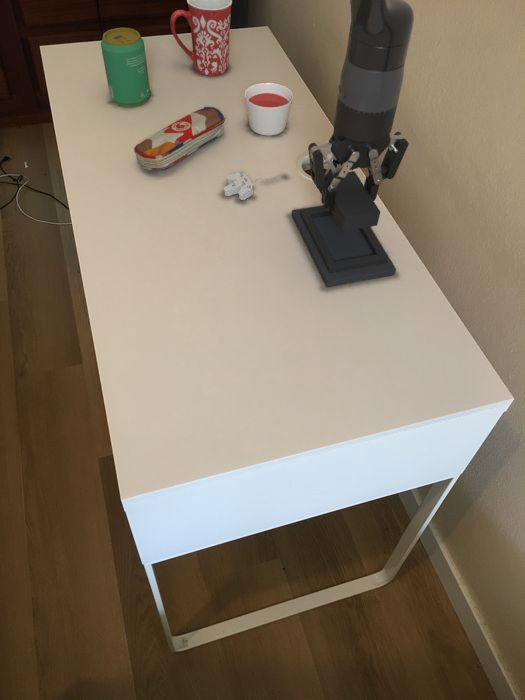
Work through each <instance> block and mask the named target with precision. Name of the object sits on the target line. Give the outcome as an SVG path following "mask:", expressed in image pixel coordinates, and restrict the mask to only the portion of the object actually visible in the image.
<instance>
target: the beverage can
mask: <svg viewBox="0 0 525 700" xmlns="http://www.w3.org/2000/svg"><path fill="white" fill-rule="evenodd" d="M100 49H101V54H102V59H103V65H104V70H105V75H106V81H107V86H108V92H109V96H110V98H111V99H112V100H113V102H114V103H115V104H116V105H117V106H119V107H123V108H136V107H140V106H142V105H144V104H146V103H147V102H148V101H149V97H150V96H151V87H150V78H149V72H148V71H149V70H148V63H147V56H146V55H147V54H146V47H145V41H144V39H143V38H142V37H141V34H140V32H139V31H138V30H136V29H134V28H131V27H115V28H111V29H108V30H107V31H105V32H104V33H103V34H102V39H101V42H100Z"/></svg>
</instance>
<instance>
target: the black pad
mask: <svg viewBox="0 0 525 700" xmlns="http://www.w3.org/2000/svg"><path fill="white" fill-rule="evenodd" d="M318 191H319V193H320V195H321V196H322V189H321V190H319V189H318ZM336 191H337V192H336V198H335V202H334V208H333V211H331V213H332V214H333V216H334V218H335V220H336V222H337V223H338V225H339V227H340V229H341V231H347V230H353V229H359V228H365V227H371V228H372V227H377V226H378V224H379V220H380V216H381V210H380V209H379V207H378V206H377V204H376V202H375V201H373V199H372V198H371V196H370V195H369V193H368V192H367V190H366V189H365V187H364V184H363V182H362V180H361V179H360V177H359V176H358V174H357V172H356V171H355V170H350V171H349V172H348V174H347V175H346V177H345V178H344V179H342V180H341V181H340V183H339V184H338V186H337V188H336Z"/></svg>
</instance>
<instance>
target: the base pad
mask: <svg viewBox="0 0 525 700" xmlns="http://www.w3.org/2000/svg"><path fill="white" fill-rule="evenodd" d="M291 218H292V220H293V222H294V224H295V226H296V228H297V230H298V232H299V234H300V237H301V238H302V240H303V243H304V244H305V246H306V248H307V251H308V252H309V254H310V257H311V259H312V260H313V261H312V262H313V263H314V265H315V267H316V269H317V271H318V273H319V275H320V277H321V279H322V282H323V283H324V285H325V287H326V288H330V287H336V286H341V285H347V284H353V283H359V282H364V281H369V280H374V279H381V278H384V277H391V276H395V275H396V271H397V267H396V266H395V265H394V263H393V262H392V260H391V258H390V257H389V255H388V253H387V252H386V250H385V248H384V247H383V245H382V243H381V242H380V240H379V238H378V237H377V235H376V233H375V232H374V231H373V230H374V229H372V226H371V227H365V228H359V229H353V230H347V231H341V229H340V227H339V225H338V223H337V222H336V220H335V218H334V216H333V214H332V213H331V211H327V209H326V208H325V207H324V205H323V204H321V205H316V206H309V207H303V208H297V209H292V210H291Z"/></svg>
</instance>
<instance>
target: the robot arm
mask: <svg viewBox="0 0 525 700" xmlns="http://www.w3.org/2000/svg"><path fill="white" fill-rule="evenodd" d="M349 2H350V3H349V4H350V26H349V32H348V38H347V45H346V53H345V56H344V57H345V58H344V61H343V65H342V69H341V72H340V80H339V84H338V86H337V87H338V88H337V92H338V93H337V100H336V106H335V114H334V119H333V133H332V135H331V136H330V138H329V139H328V142H326V143H322V144H319V145H318V144H317V143H316V142H311V143H310V144H309V145H308V146H307V148H308V161H309V167H310V168H309V169H310V178H311V180H312V182H313V184H314V185H315V187H316V189H317V190H318V191H319V190H321V189H322V195H321V197H320V201H321V205H324V207H325V208H326V209H327V211H333V208H334V202H335V198H336V192H337V191H336V188H337V186H338V184H339V183H340V181H341V180H342V179H344V178H345V177H346V175H347V174H348V172H350V171H354V170H356V169H366V171H367V174H368V176H365V180H364V184H363V185H364V187H365V189H366V190H367V192H368V193H369V195H370V196H371V198H372V199H373V201H374V202H375V200H376V199H377V197H378V192H379V187H380V185H381V184H382V183H383V181H384V180H386V179H388V180H392V179H394V178H395V176H396V174H397V172H398V169H399V167H400V165H401V163H402V160H403V158H404V156H405V154H406V152H407V149H408V147H409V144H410V143H409V141H408V140H407V138H406V137H405V136H404V135H403V134H402V131H401V132H400V131H396V132H395V133H393V134H391V132H392V129H393V125H394V121H395V117H396V112H397V108H398V103H399V99H400V95H401V90H402V87H403V81H404V75H405V74H404V73H405V65H406V60H407V56H408V51H409V46H410V43H411V38H412V33H413V29H414V24H415V23H414V22H415V12H414V10H413V8H412V5H411V4H409V3H408V2H407V1H406V0H350V1H349ZM385 150H386V152H385V154H384V157H383V159H382V162H381V163H380V158H379V157H380V156H381V155H382V154H383V153H384V151H385ZM329 154H332V156H331V158H330V160H329V162H328V167H327V169H326V171H325V169H324V168H325V165H324V164H325V163H327V160H328V155H329Z"/></svg>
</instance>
